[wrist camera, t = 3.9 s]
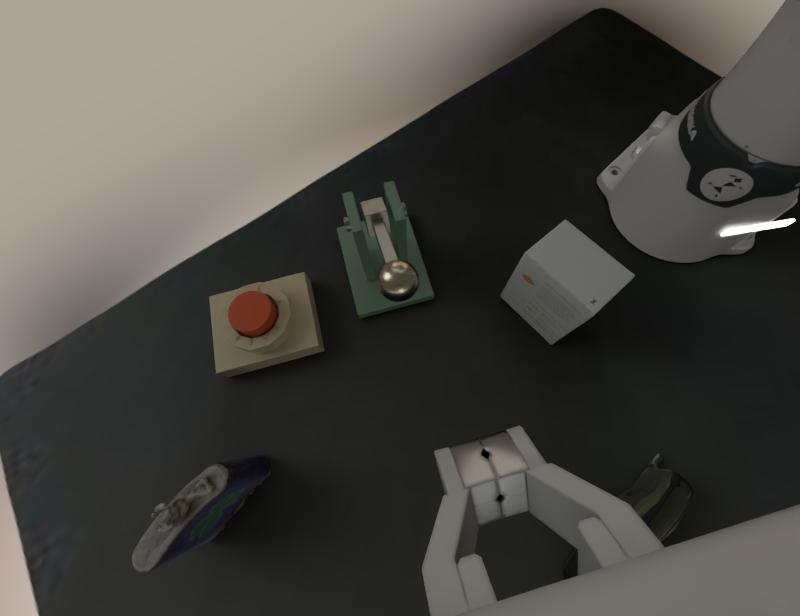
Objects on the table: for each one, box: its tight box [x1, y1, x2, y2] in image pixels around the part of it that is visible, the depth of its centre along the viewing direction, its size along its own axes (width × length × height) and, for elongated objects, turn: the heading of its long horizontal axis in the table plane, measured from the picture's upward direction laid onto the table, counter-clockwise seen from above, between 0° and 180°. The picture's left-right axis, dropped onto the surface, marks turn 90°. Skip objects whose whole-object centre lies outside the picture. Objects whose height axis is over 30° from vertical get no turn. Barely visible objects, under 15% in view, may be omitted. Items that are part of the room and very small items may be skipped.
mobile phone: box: [563, 453, 693, 580], centre depth 31 cm, size 5×3×15 cm
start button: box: [228, 291, 277, 336], centre depth 36 cm, size 4×4×2 cm
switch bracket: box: [337, 181, 434, 318], centre depth 38 cm, size 12×9×12 cm
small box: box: [500, 220, 635, 345], centre depth 36 cm, size 8×6×10 cm
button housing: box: [209, 272, 325, 377], centre depth 39 cm, size 11×9×4 cm
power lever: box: [360, 197, 419, 302], centre depth 30 cm, size 13×3×3 cm, turn 16°
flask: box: [132, 455, 273, 573], centre depth 30 cm, size 9×3×11 cm, turn 140°
